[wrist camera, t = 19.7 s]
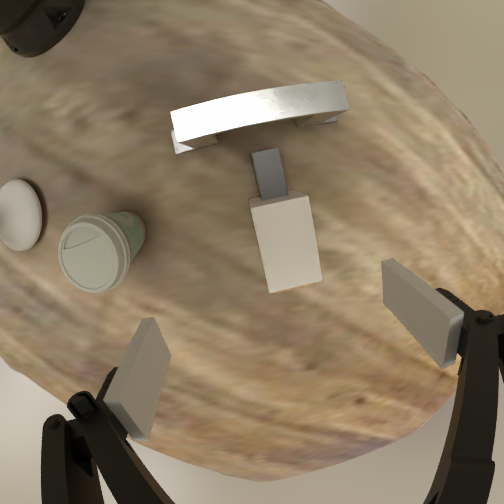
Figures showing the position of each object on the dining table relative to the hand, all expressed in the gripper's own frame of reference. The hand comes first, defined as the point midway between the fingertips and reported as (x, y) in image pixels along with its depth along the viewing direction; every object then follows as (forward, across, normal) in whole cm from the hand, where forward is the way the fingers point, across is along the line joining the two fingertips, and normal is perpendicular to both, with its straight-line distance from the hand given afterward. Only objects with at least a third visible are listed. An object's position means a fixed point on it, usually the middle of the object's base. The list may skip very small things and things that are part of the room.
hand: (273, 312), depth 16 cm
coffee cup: (+24, -17, +3) cm, 29 cm away
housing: (+24, +4, +12) cm, 27 cm away
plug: (+23, +3, +1) cm, 24 cm away
